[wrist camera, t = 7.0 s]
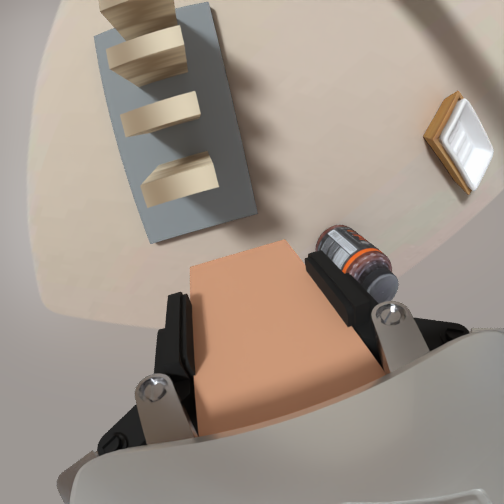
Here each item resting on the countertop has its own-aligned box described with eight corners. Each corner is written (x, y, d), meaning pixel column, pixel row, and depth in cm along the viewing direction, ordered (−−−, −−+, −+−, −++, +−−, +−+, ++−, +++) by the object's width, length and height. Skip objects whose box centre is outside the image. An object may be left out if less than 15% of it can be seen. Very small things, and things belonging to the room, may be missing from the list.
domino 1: (175, 17, 20) (168, -28, 11) (178, 30, 20) (171, -13, 11) (127, 32, 19) (98, -5, 10) (129, 45, 20) (99, 11, 11)
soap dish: (413, 136, 31) (440, 141, 26) (440, 89, 28) (466, 90, 24) (452, 188, 35) (475, 198, 31) (475, 144, 33) (498, 150, 28)
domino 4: (207, 150, 26) (213, 163, 18) (211, 166, 27) (219, 186, 18) (158, 165, 26) (140, 185, 17) (163, 179, 27) (147, 208, 18)
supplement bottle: (362, 235, 35) (416, 278, 25) (337, 272, 37) (381, 323, 27) (331, 214, 33) (384, 255, 23) (304, 254, 35) (346, 308, 25)
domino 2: (184, 58, 22) (179, 24, 13) (188, 72, 23) (184, 44, 14) (135, 73, 21) (105, 49, 13) (138, 87, 22) (109, 69, 13)
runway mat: (207, 5, 20) (208, 1, 19) (255, 210, 31) (257, 213, 30) (96, 38, 19) (93, 36, 18) (151, 240, 30) (150, 244, 29)
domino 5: (284, 239, 14) (399, 393, 6) (289, 265, 15) (390, 420, 6) (189, 266, 14) (201, 460, 5) (199, 292, 15) (222, 477, 6)
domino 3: (195, 103, 24) (195, 90, 15) (199, 118, 25) (200, 113, 16) (146, 118, 24) (119, 114, 15) (149, 133, 24) (125, 137, 16)
